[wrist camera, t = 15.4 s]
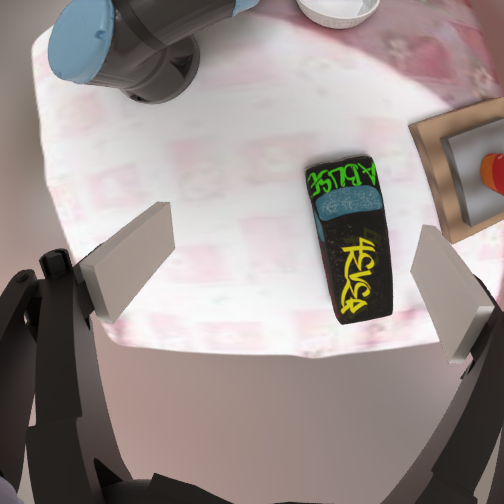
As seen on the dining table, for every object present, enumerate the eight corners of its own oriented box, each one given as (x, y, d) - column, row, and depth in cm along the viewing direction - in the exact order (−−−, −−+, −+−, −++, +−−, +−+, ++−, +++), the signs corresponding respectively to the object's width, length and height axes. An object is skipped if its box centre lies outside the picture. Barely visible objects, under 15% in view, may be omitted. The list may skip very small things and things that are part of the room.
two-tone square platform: (408, 125, 38) (424, 124, 32) (491, 98, 32) (513, 95, 25) (442, 236, 43) (459, 251, 37) (518, 200, 37) (538, 209, 31)
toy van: (366, 152, 41) (382, 155, 32) (387, 290, 49) (400, 321, 40) (302, 165, 44) (301, 171, 35) (331, 301, 52) (334, 334, 43)
